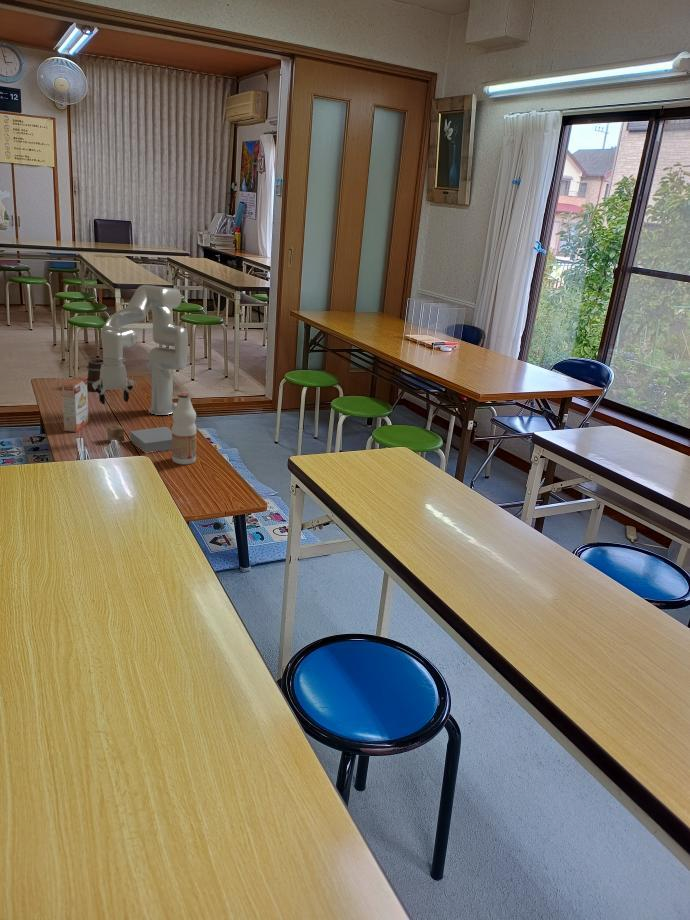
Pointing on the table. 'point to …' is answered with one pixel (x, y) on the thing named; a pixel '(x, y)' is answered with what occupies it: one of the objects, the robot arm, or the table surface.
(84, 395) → the cracker box
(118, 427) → the walnut block
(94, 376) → the mug
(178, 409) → the fruit juice
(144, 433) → the grey box
